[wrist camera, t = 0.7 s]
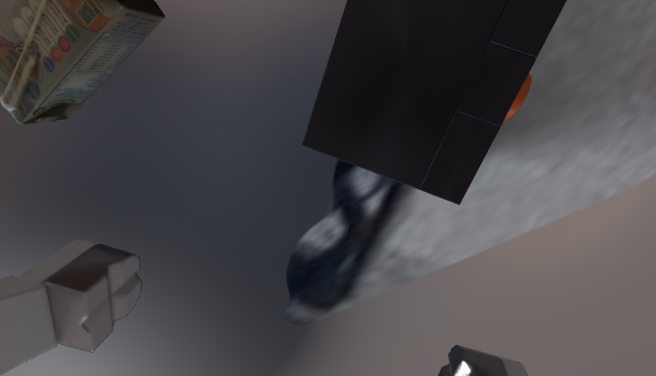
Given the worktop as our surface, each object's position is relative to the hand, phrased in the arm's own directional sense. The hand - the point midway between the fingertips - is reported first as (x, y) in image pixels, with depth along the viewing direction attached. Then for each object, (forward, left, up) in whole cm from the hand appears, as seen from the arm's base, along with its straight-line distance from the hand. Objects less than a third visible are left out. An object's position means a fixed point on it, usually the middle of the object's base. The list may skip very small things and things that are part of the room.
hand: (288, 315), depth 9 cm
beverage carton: (+1, -32, -29) cm, 43 cm away
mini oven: (-8, +2, -29) cm, 30 cm away
